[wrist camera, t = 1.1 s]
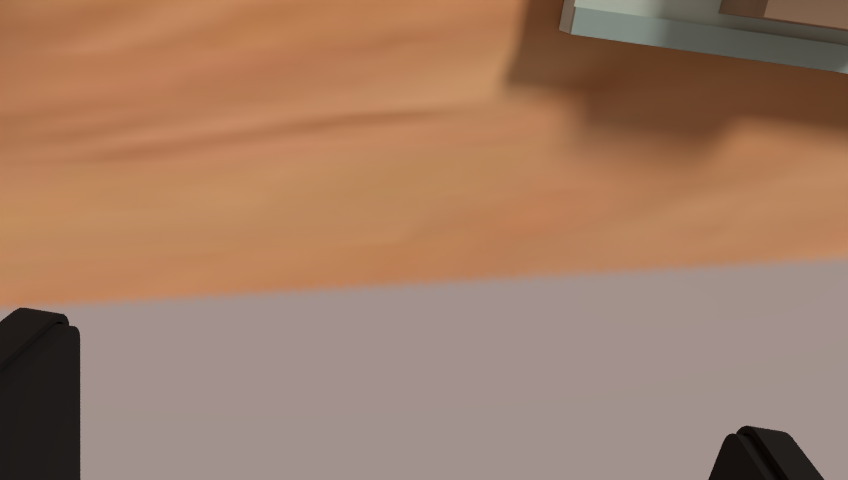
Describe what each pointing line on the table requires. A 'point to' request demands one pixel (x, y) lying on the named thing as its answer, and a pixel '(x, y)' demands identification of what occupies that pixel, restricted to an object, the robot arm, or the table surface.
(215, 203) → the table surface
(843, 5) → the walnut block
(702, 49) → the board
